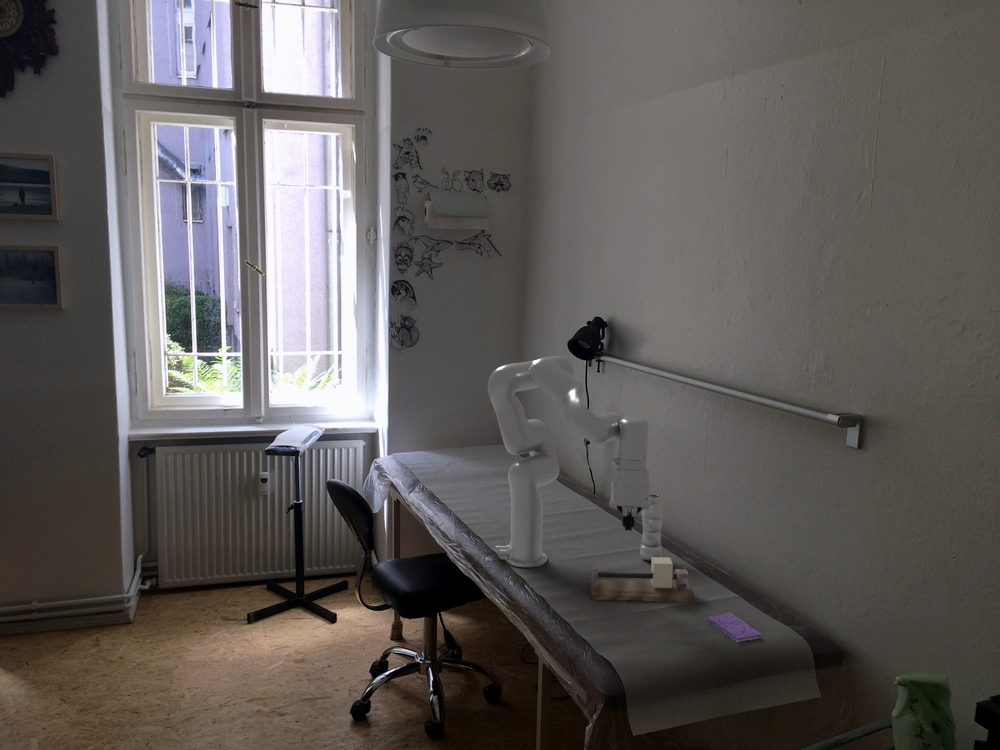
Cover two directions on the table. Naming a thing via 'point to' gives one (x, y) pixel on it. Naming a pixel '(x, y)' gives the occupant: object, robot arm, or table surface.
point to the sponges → (734, 626)
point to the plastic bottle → (652, 529)
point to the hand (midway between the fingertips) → (627, 528)
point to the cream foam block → (661, 572)
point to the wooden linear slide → (639, 587)
